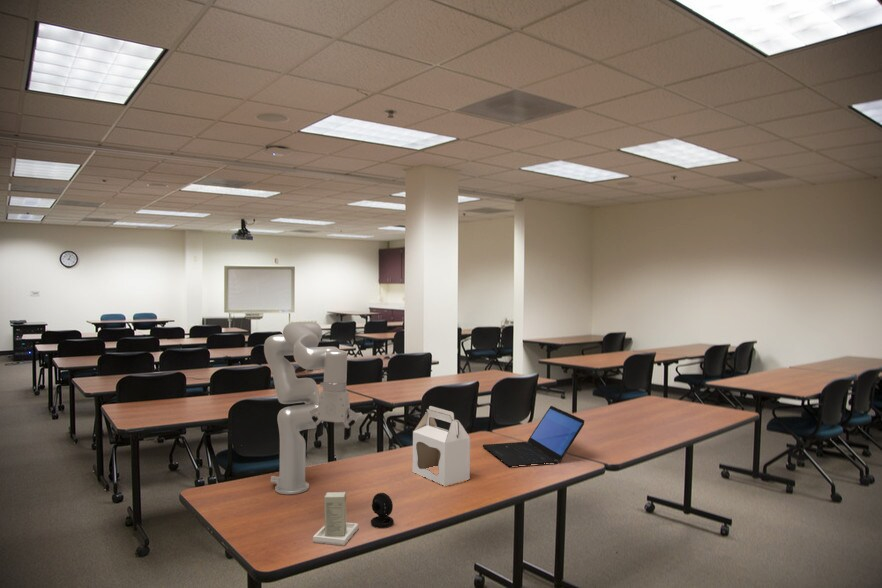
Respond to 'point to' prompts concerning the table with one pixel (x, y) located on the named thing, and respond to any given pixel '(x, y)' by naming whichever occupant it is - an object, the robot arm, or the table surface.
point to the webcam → (382, 510)
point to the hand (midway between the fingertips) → (333, 437)
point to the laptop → (541, 441)
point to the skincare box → (335, 513)
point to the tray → (335, 540)
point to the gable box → (441, 448)
